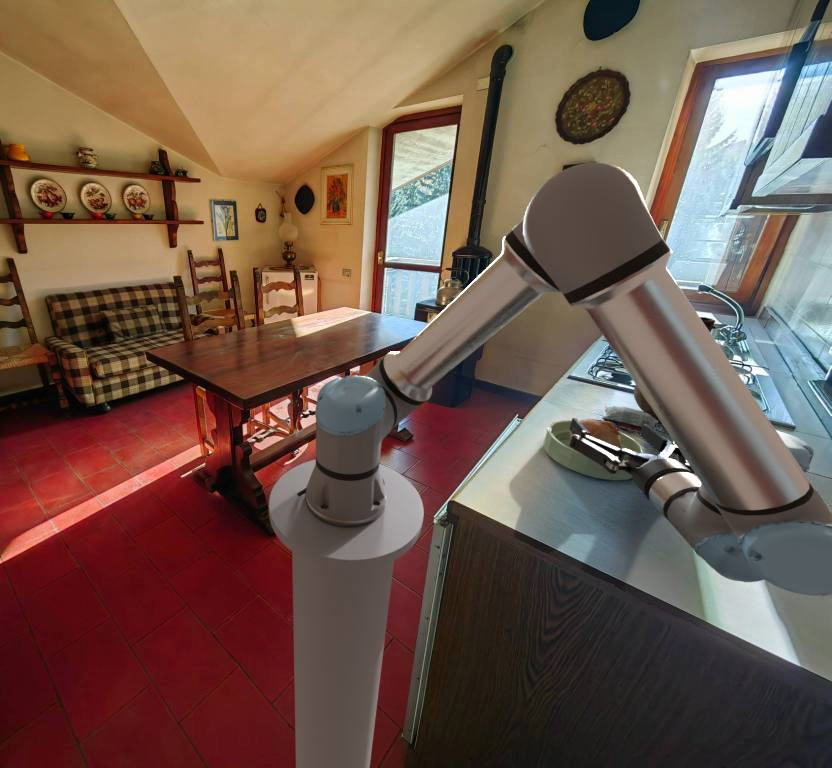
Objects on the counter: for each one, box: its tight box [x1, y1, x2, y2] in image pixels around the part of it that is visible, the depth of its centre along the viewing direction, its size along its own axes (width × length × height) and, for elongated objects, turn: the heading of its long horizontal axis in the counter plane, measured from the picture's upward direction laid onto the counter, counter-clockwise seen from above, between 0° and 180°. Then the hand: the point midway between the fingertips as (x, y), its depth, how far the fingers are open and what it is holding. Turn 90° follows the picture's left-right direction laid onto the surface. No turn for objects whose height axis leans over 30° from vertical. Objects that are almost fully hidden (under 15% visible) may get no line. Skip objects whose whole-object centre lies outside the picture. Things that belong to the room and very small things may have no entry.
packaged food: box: [602, 405, 659, 434], centre depth 102 cm, size 9×12×5 cm
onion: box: [569, 418, 621, 450], centre depth 87 cm, size 10×9×10 cm
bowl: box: [543, 419, 647, 481], centre depth 88 cm, size 18×18×5 cm
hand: (607, 426), depth 82 cm, fingers open, 13 cm apart
